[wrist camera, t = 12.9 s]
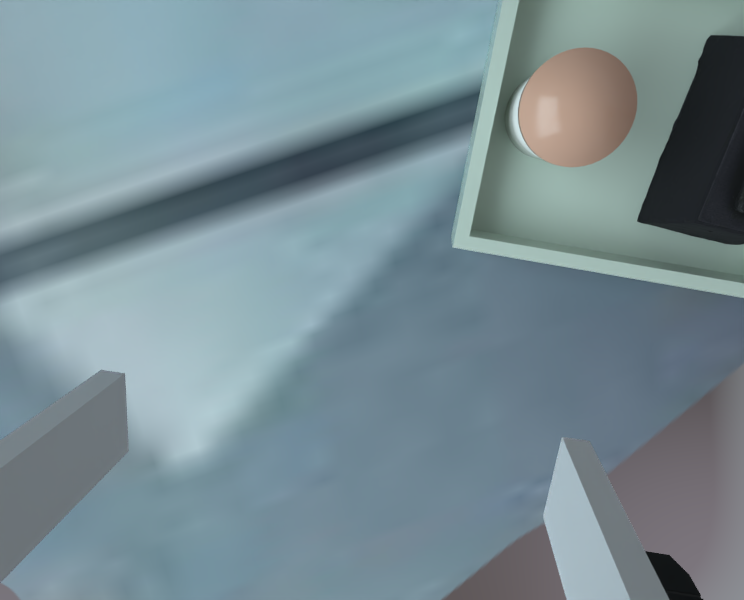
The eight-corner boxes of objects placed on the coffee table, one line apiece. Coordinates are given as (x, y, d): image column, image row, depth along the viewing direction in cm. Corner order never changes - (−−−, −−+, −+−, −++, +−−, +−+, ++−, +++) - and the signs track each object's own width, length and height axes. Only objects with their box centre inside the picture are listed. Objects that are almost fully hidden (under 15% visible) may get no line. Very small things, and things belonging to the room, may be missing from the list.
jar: (513, 61, 38) (535, 39, 29) (603, 75, 37) (652, 56, 29) (493, 154, 40) (508, 157, 31) (579, 168, 39) (618, 175, 31)
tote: (507, -46, 37) (517, -71, 33) (869, 3, 35) (928, -16, 31) (451, 236, 43) (452, 247, 39) (757, 289, 41) (794, 306, 37)
